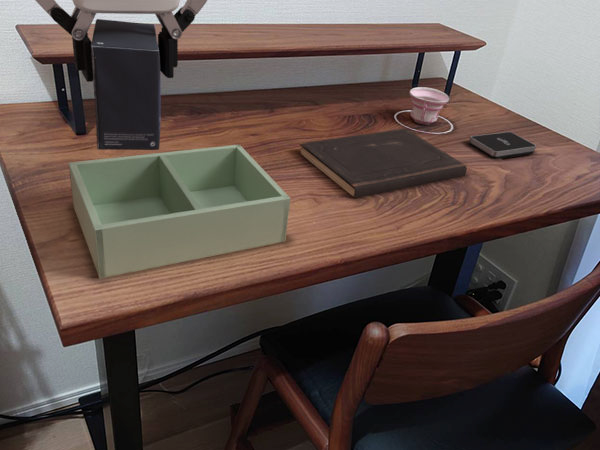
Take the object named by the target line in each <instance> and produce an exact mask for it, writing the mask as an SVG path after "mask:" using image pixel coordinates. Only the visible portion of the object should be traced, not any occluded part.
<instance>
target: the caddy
mask: <svg viewBox="0 0 600 450" xmlns="http://www.w3.org/2000/svg"><path fill="white" fill-rule="evenodd" d="M68 170H69V178H70V179H69V180H70V186H71V187H70V188H71V197H72V205H73V209H74V212H75V215H76V217H77V220H78V223H79V226H80V228H81V232H82V234H83V237H84V240H85V242H86V246H87V248H88V251H89V253H90V257H91V260H92V262H93V265H94V268H95V270H96V271H95V272H96V274H97V276H98V279H99V280H102V279H105V278H110V277H115V276H121V275H126V274H131V273H135V272H140V271H145V270H151V269H155V268H161V267H165V266H169V265H170V266H171V265H175V264H180V263H181V264H182V263H185V262H191V261H196V260H200V259H204V258H211V257H215V256H221V255H225V254H230V253H234V252H235V253H236V252H239V251H240V252H241V251H244V250H245V251H246V250H250V249H254V248H259V247H265V246H270V245H274V244H280V243H285V242H286V238H287V230H288V223H289V215H290V207H291V206H290V205H291V197H290V196H289V195H288V194H287V193H286V191H284V190H283V188H281V186H280V185H279V184H278V183H276V181H275V180H274V179H273V178H272V177H271V176H270V175H269V173H267V172H266V171H265V170H264V169H263V168H262V167H261V165H260V164H259V163H258V162H257V161H256V160H255V158H253V157H252V156H251V154H249V153H248V152H247V151H246V150H245V148H243V146H241V144H230V145H221V146H212V147H211V146H210V147H201V148H194V149H193V148H192V149H184V150H173V151H165V152H155V153H146V154H136V155H127V156H118V157H108V158H99V159H98V158H97V159H90V160H81V161H71V162H68Z"/></svg>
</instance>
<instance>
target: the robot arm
mask: <svg viewBox="0 0 600 450" xmlns="http://www.w3.org/2000/svg"><path fill="white" fill-rule="evenodd" d="M35 2H36V3H37V4H38V5H39V6H40V7H41V8H42V9H43V10H44V12H46V14H48V15H49V16H50V18H51V19H52V20H53V21H54V22H55V23H56V24H57V25H58V26H59V27H60V28H62V29H63V30H64V31H65V32H66V33H68V34H69V35H70V36H71V41H72V50H73V51H72V52H73V60H74V68H75V71H77V72H78V71H81V74H82V76H83V77H84V79H85V80H86V82H87V83H91V82H93V70H92V57H91V43H92V39H91V38H90V37H89V33H88V31H89V30H90V27H91V25H92V24H93V21H94V19H95V17H96V16H97V14H118V15H119V14H125V15H126V14H128V15H130V14H131V15H132V14H133V15H136V14H137V15H142V14H143V15H153V14H154V15H155V16H156V18H157V21H158V22H159V24H160V25H161V31H158V33H157V42H158V48H159V56H160V73H161V74H163V76H164V77H166V78H167V79H173V78H174V77H175V76H174V75H175V74H174V69H175V68H178V65H179V64H178V63H179V56H178V55H179V51H178V50H179V49H178V47H179V42H178V41H179V39H181V38H182V36H183V32H184V31H185V30H186V29H187V28H189V26H190V25H191V24H192V23H193V22H194V21H195V18H196V16H197V15H198V14H199V13H200V12H201V10H202V9H203V8H204V6H205V5H206V3H207V2H208V0H186V1H185V2H184V4H183V6H182V7H179V6H180V3H181V0H72V3H73V5H74V8H73V10H72V13H71V14H69V12H67V11H66V10H64V9H63V8H62V7H61V5H59V4H58V3H57V2H56V0H35ZM178 8H179V9H178ZM177 9H178V10H177ZM176 10H177V11H176ZM174 11H176V12H175V13H174Z"/></svg>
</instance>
